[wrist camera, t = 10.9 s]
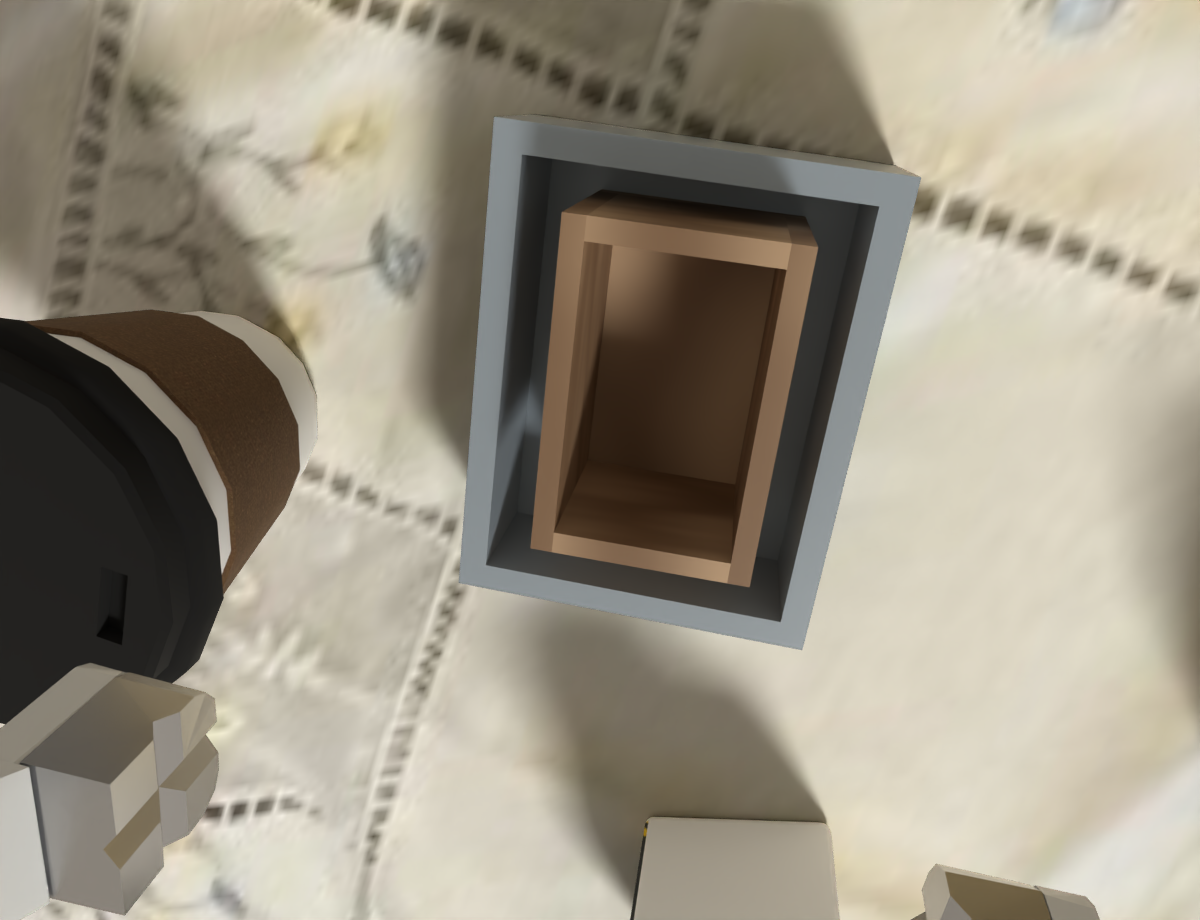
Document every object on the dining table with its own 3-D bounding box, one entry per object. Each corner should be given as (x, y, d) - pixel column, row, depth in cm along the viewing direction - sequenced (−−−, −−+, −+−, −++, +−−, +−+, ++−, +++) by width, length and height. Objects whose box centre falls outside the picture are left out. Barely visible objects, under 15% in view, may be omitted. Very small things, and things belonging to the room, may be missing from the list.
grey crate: (895, 165, 26) (921, 177, 22) (796, 577, 31) (802, 650, 27) (534, 114, 27) (494, 116, 23) (496, 521, 32) (458, 582, 28)
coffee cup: (413, 302, 30) (212, 419, 19) (356, 577, 34) (165, 805, 23) (104, 200, 30) (-271, 257, 19) (86, 485, 34) (-229, 665, 23)
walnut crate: (805, 216, 26) (818, 247, 21) (750, 497, 30) (749, 587, 24) (602, 189, 27) (561, 212, 21) (571, 467, 30) (530, 548, 25)
